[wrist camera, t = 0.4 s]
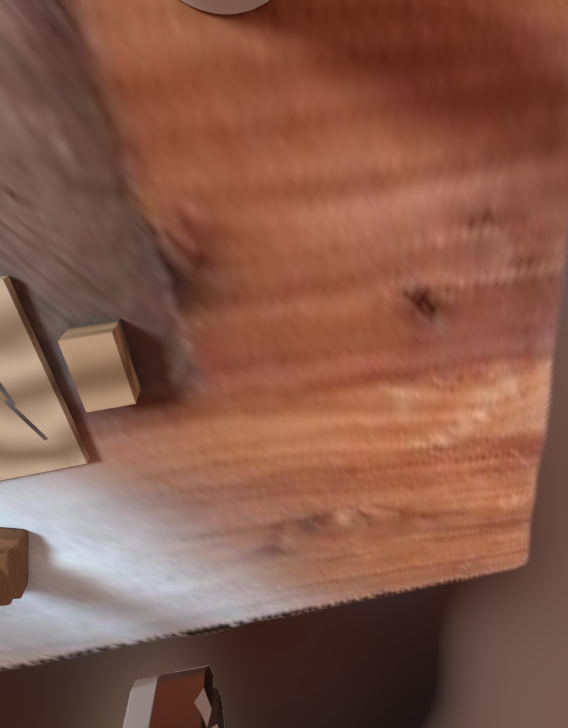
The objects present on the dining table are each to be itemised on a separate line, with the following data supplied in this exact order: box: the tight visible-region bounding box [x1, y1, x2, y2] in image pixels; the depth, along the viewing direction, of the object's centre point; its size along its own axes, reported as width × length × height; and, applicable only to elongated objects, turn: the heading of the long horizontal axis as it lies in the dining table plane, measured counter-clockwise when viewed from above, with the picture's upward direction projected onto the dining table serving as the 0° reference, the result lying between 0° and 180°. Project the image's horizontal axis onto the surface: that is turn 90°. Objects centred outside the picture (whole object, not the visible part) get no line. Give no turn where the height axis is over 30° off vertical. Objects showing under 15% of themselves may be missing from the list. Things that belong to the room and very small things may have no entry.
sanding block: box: [58, 319, 142, 412], centre depth 44 cm, size 8×5×4 cm, turn 7°
